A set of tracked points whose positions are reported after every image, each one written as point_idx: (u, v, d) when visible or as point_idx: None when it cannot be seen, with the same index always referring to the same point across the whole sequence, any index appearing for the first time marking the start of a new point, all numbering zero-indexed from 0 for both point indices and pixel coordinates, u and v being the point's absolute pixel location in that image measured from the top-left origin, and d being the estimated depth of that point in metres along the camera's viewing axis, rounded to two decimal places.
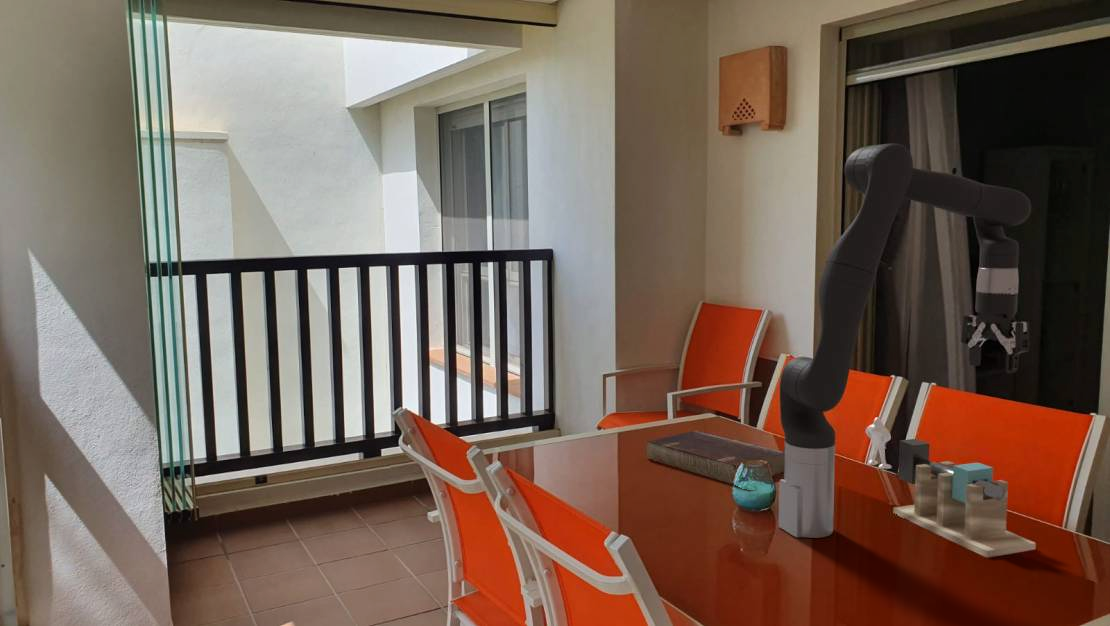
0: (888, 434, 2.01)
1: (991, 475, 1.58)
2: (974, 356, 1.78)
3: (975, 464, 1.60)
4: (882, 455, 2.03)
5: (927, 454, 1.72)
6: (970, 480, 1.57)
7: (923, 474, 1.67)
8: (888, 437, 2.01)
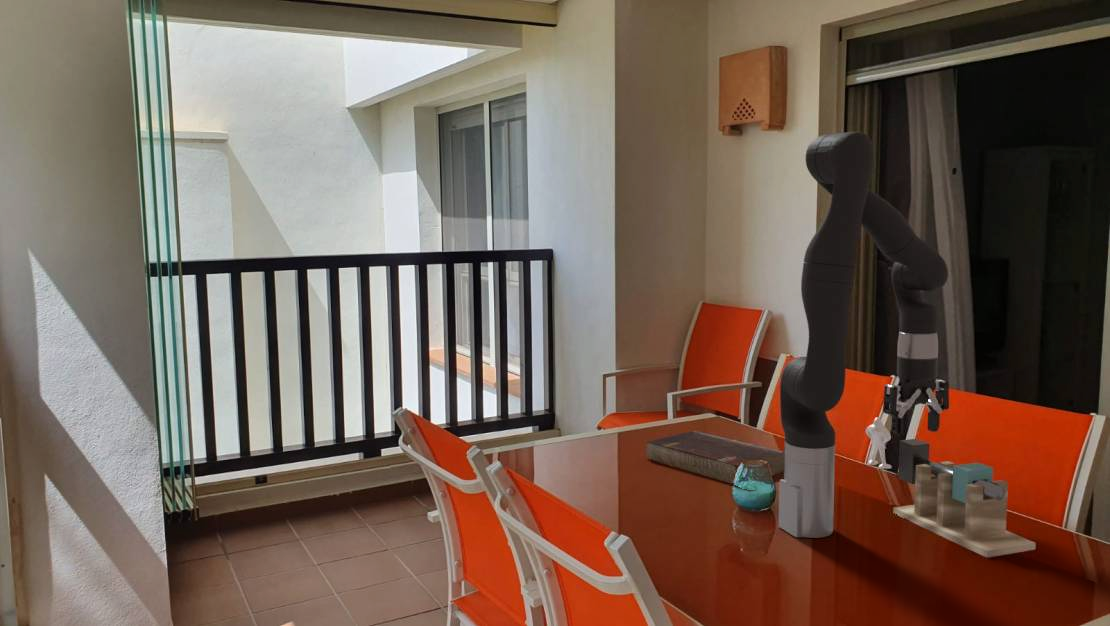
0: (888, 434, 2.01)
1: (991, 475, 1.58)
2: None
3: (975, 464, 1.60)
4: (882, 455, 2.03)
5: (927, 454, 1.72)
6: (970, 480, 1.57)
7: (923, 474, 1.67)
8: (888, 437, 2.01)
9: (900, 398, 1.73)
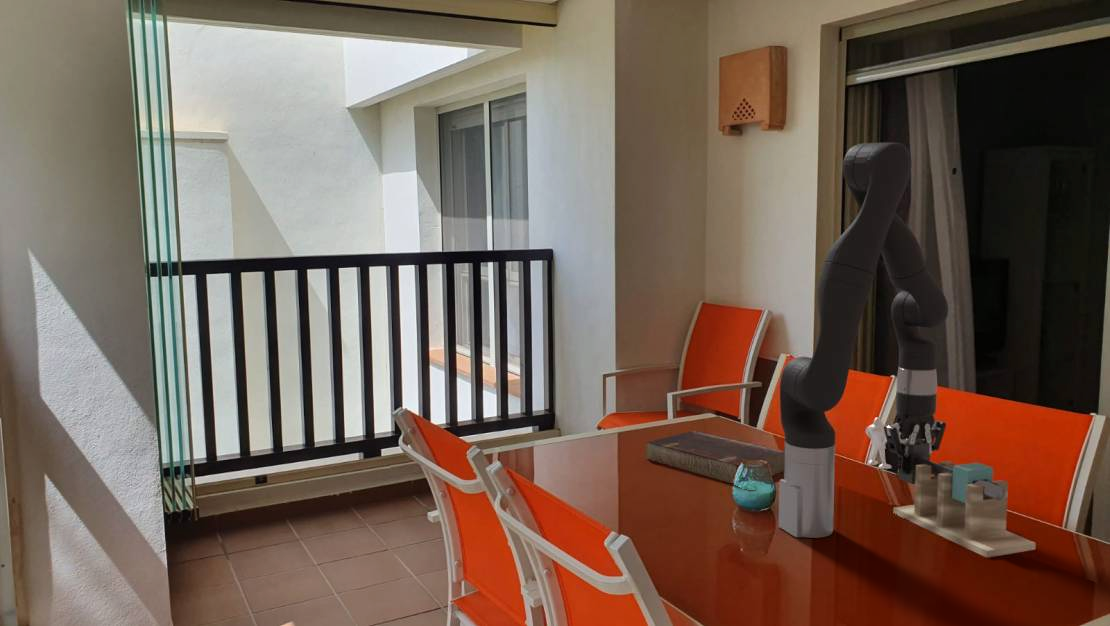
0: None
1: (991, 475, 1.58)
2: None
3: (975, 464, 1.60)
4: (882, 455, 2.03)
5: (927, 454, 1.72)
6: (970, 480, 1.57)
7: (923, 474, 1.67)
8: None
9: (902, 435, 1.74)
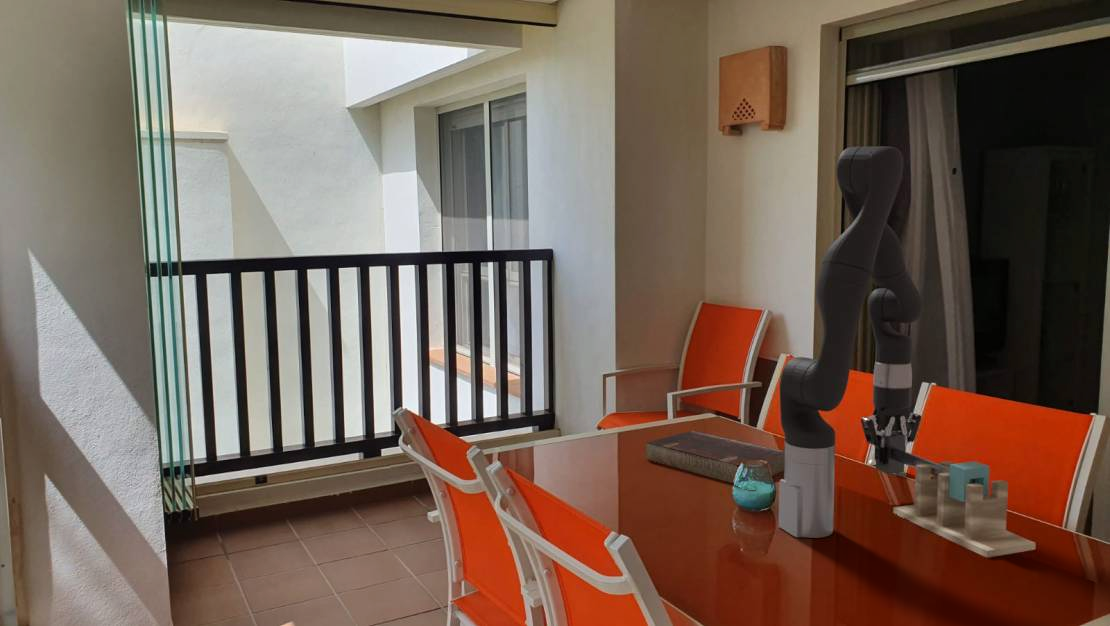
0: None
1: (987, 473, 1.59)
2: None
3: (971, 463, 1.61)
4: None
5: (903, 445, 1.79)
6: (966, 478, 1.58)
7: (923, 474, 1.67)
8: None
9: (878, 427, 1.81)
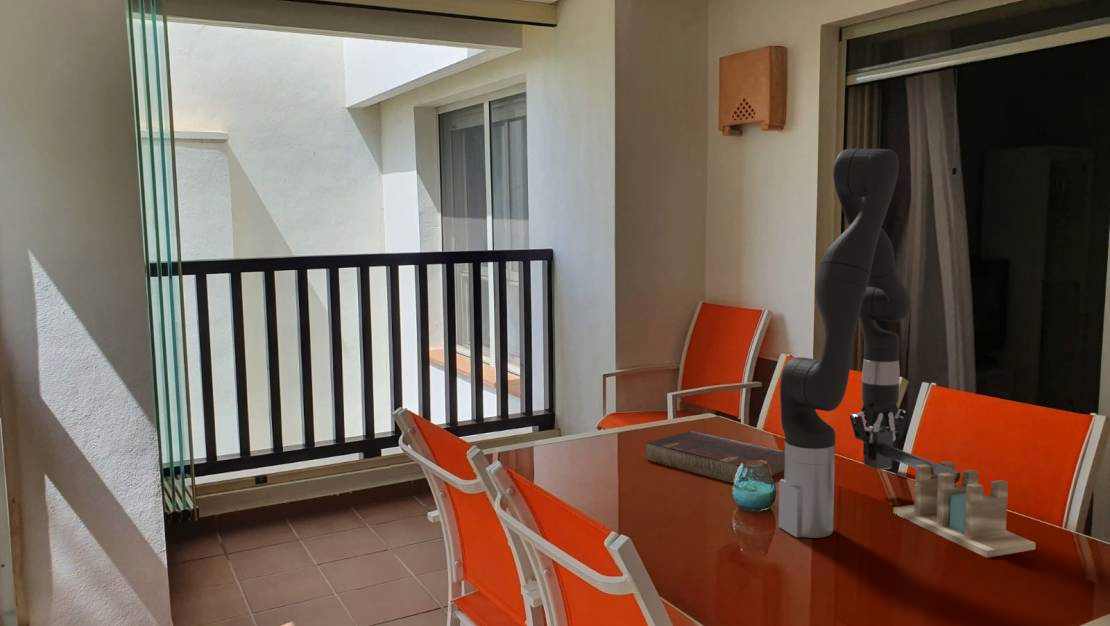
0: None
1: None
2: None
3: None
4: None
5: (891, 441, 1.83)
6: None
7: (923, 474, 1.67)
8: None
9: (867, 423, 1.84)
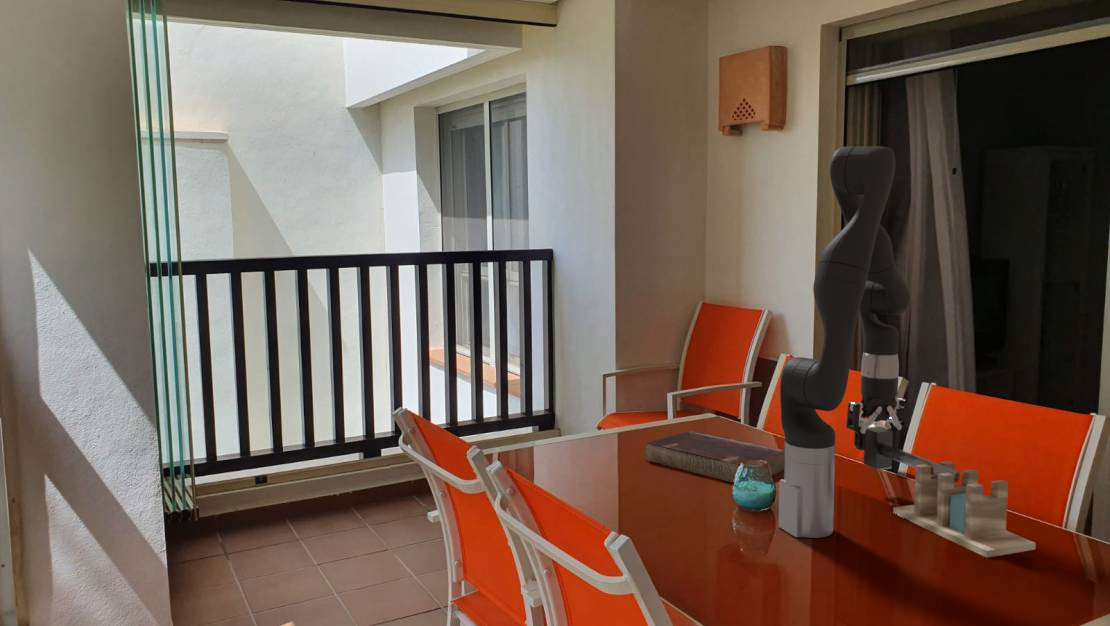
0: None
1: None
2: None
3: None
4: None
5: (890, 441, 1.83)
6: None
7: (923, 474, 1.67)
8: None
9: (863, 415, 1.84)
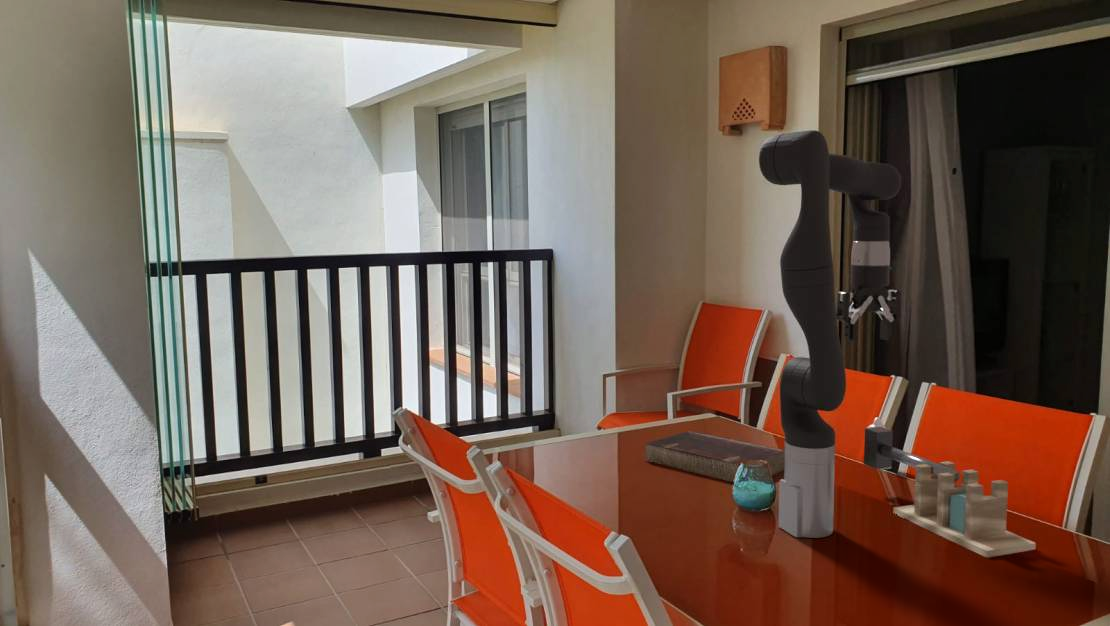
0: None
1: None
2: None
3: None
4: None
5: (890, 441, 1.83)
6: None
7: (923, 474, 1.67)
8: None
9: (853, 306, 1.78)
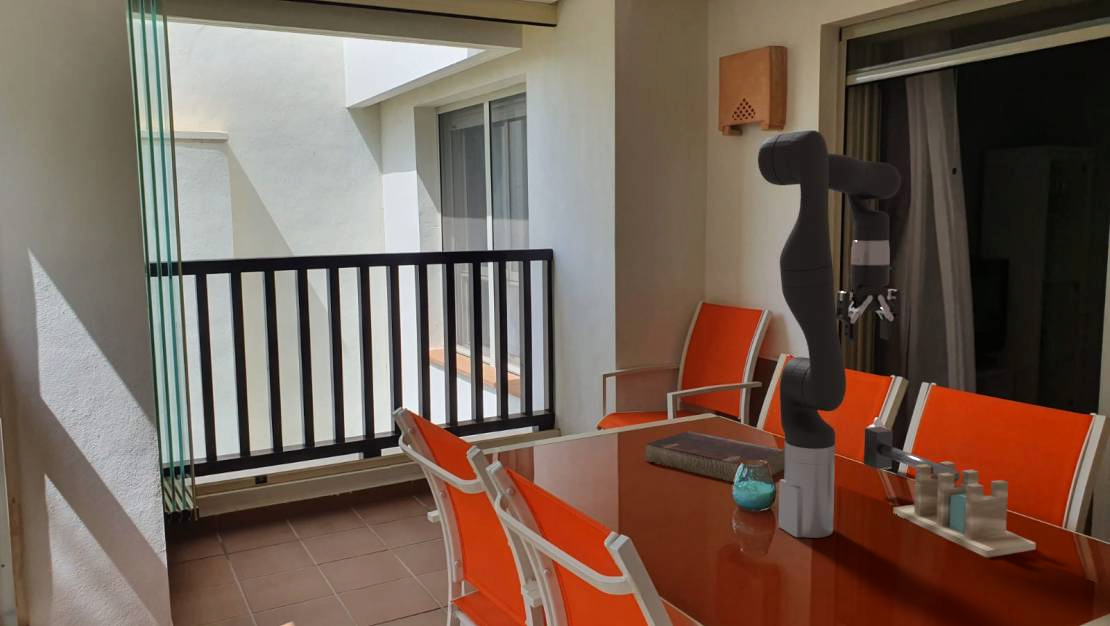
0: None
1: None
2: None
3: None
4: None
5: (890, 441, 1.83)
6: None
7: (923, 474, 1.67)
8: None
9: (853, 305, 1.78)
